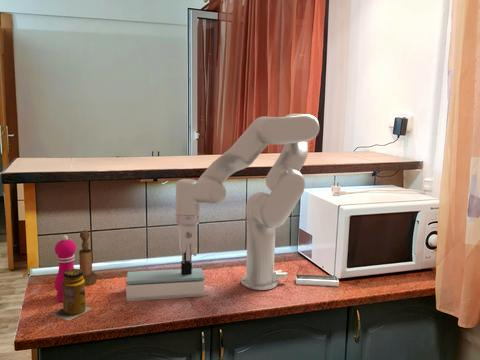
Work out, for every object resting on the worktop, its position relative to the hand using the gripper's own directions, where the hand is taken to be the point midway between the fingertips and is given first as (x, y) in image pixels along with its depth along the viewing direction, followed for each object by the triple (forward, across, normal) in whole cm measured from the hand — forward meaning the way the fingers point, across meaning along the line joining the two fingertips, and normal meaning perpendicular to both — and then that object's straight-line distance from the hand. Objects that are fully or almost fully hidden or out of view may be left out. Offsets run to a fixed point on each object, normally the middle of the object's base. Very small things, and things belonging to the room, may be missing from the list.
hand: (186, 273), depth 136 cm
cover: (+1, 0, +7) cm, 7 cm away
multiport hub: (+6, 0, -45) cm, 46 cm away
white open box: (+6, 0, +6) cm, 9 cm away
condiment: (+7, -8, +34) cm, 35 cm away
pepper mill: (+7, +2, +36) cm, 37 cm away
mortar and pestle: (+7, +12, +32) cm, 35 cm away
